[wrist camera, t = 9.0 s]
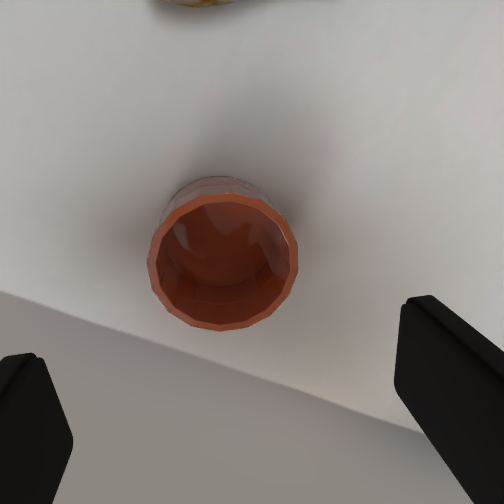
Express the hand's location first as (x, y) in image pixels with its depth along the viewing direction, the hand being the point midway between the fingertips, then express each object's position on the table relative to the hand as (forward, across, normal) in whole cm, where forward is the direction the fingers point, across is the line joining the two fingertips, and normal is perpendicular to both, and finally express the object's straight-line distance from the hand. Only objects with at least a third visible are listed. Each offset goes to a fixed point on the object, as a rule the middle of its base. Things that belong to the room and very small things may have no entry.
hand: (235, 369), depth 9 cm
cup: (+12, 0, 0) cm, 12 cm away
